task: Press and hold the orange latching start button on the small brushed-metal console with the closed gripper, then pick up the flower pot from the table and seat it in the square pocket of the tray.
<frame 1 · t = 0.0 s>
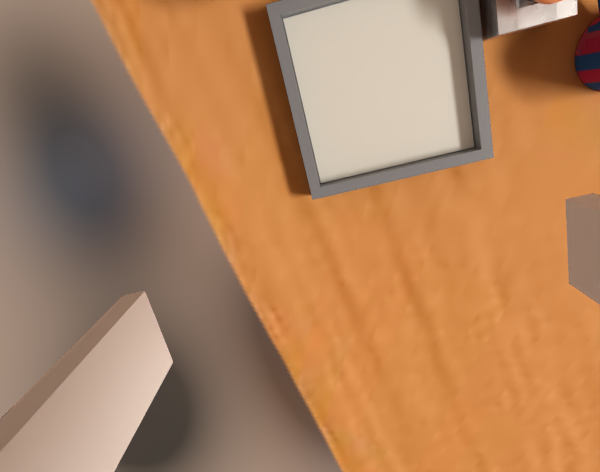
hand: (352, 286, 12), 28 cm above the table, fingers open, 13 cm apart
tray: (381, 85, 37), on the table
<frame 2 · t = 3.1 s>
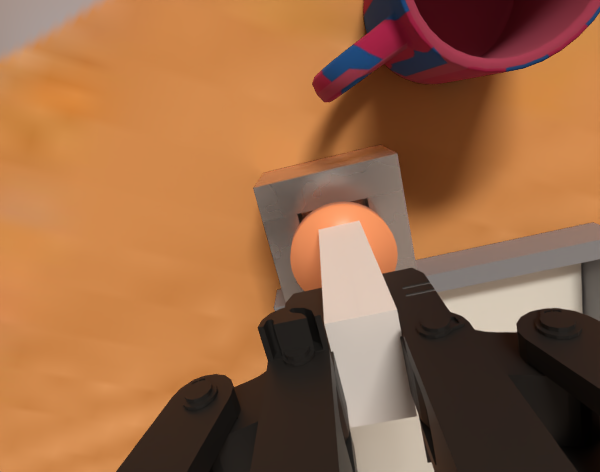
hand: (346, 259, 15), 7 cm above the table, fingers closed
start button: (340, 243, 16), point 5 cm above the table, slide at 0.8 cm, touching gripper
tray: (449, 385, 24), on the table
console: (333, 214, 21), on the table
cup 2: (403, 25, 18), on the table
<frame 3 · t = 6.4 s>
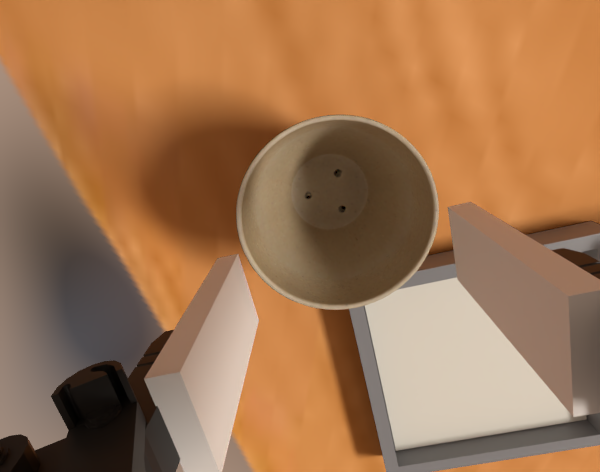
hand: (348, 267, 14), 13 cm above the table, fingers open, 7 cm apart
tray: (475, 351, 30), on the table
flower pot: (330, 190, 27), on the table
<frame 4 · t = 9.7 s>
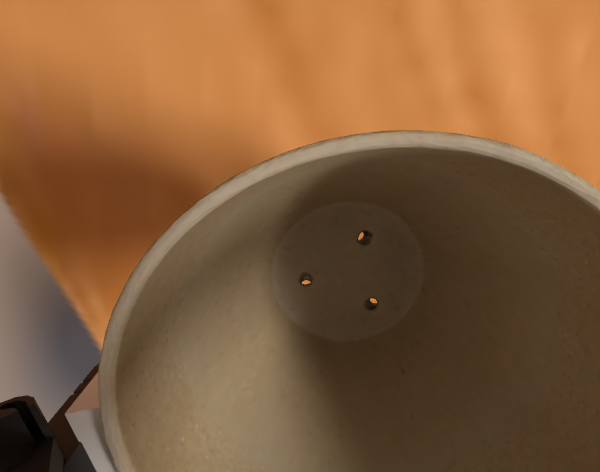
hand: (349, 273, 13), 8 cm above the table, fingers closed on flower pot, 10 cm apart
flower pot: (347, 266, 14), point 7 cm above the table, touching gripper
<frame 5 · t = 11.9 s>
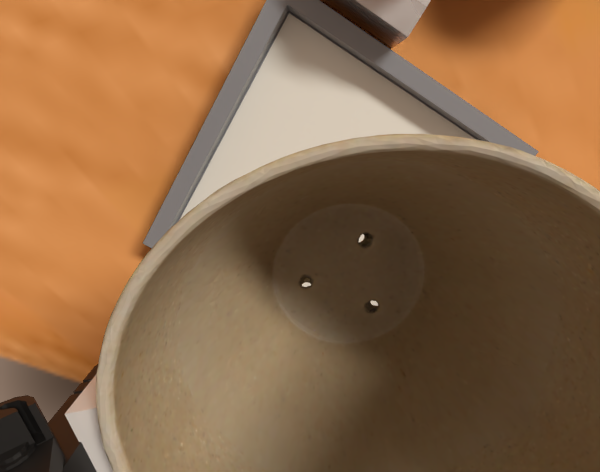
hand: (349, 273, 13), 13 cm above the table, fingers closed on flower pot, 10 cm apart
tray: (329, 192, 26), on the table
flower pot: (348, 268, 14), point 13 cm above the table, touching gripper
when the fingers open (3 cm above the table, at t = 14.1 s): flower pot drops 2 cm, resting on tray.
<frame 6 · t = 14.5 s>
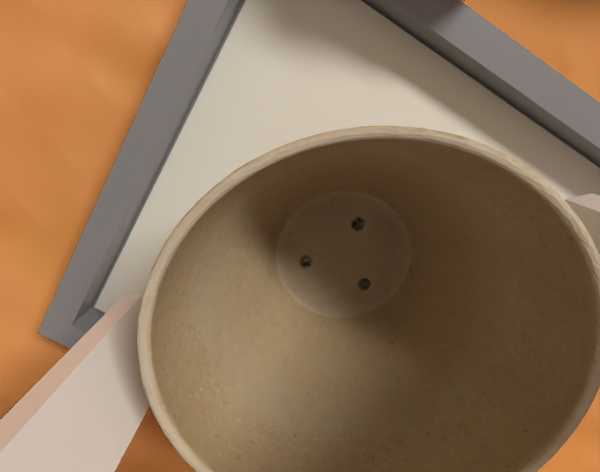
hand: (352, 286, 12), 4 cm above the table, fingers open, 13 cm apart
tray: (343, 246, 16), on the table
flower pot: (343, 250, 15), point 1 cm above the table, touching tray
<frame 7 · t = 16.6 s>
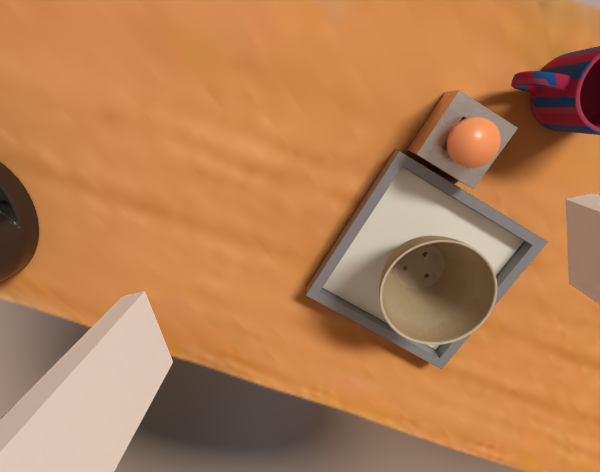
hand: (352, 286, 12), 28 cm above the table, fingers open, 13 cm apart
start button: (467, 141, 34), point 4 cm above the table, slide at 1.2 cm
tray: (417, 261, 42), on the table
console: (451, 138, 38), on the table
flower pot: (418, 263, 41), resting on tray
cup 2: (549, 87, 36), on the table
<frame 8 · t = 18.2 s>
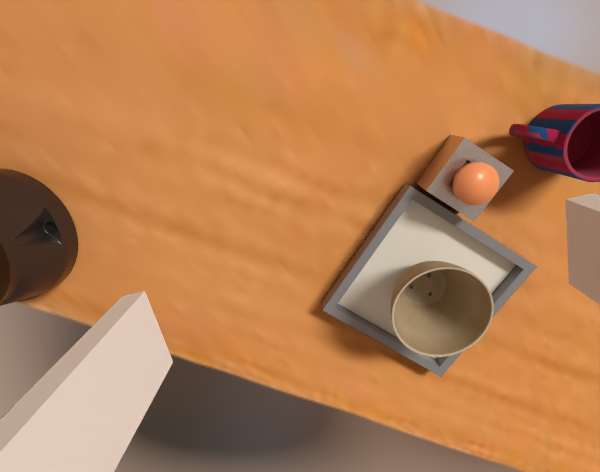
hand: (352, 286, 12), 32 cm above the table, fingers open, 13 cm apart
start button: (470, 181, 39), point 4 cm above the table, slide at 1.2 cm
tray: (421, 281, 47), on the table
console: (455, 174, 43), on the table
flower pot: (422, 282, 46), resting on tray
cup 2: (541, 133, 41), on the table
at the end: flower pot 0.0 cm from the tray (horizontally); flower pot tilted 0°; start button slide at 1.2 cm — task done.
